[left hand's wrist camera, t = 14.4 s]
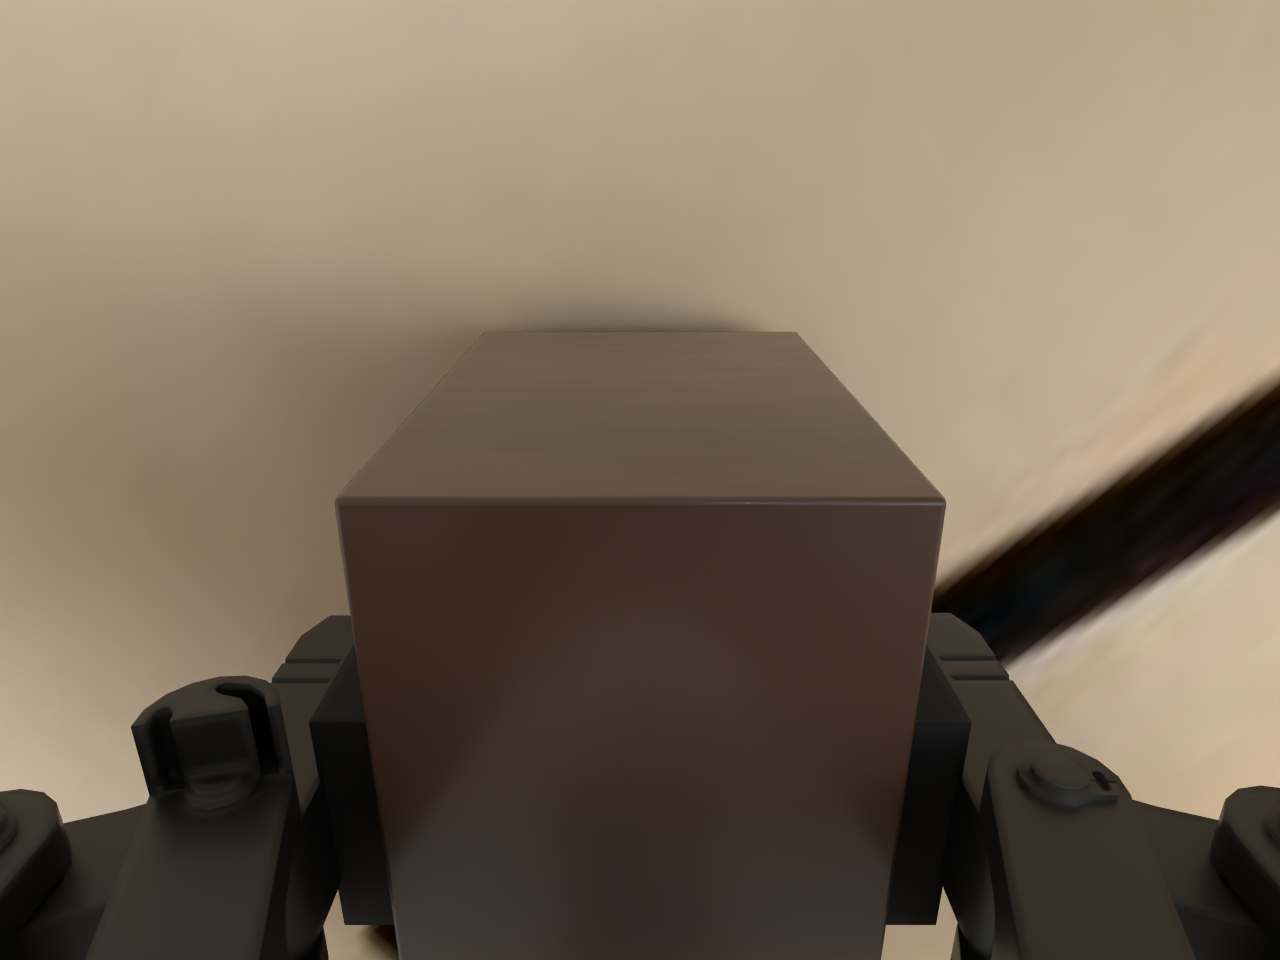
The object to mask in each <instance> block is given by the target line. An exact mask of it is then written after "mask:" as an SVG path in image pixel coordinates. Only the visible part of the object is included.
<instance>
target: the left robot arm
mask: <svg viewBox="0 0 1280 960" xmlns="http://www.w3.org/2000/svg"><path fill="white" fill-rule="evenodd" d="M995 657H996V656H995V655H994V653H993V652H992V650H991V649H990V648H989V646H988V645H987V643H986V642H985V640H984V639H983V638H982V636H981V635H980V633H979V632H977V631H976V630H974V629H973V628H971V627H970V626H968V625H967V624H966V623H964V622H963V621H961V620H960V619H958V618H957V617H955V616H954V615H953V614H951V613H930V620H929V627H928V634H927V641H926V648H925V655H924V662H923V669H922V676H921V683H920V690H919V697H918V704H917V711H916V718H915V725H914V732H913V739H912V746H911V753H910V760H909V767H908V774H907V781H906V788H905V795H904V802H903V808H902V815H901V822H900V829H899V836H898V843H897V850H896V857H895V864H894V871H893V878H892V885H891V892H890V899H889V906H888V913H887V920H886V925H936V921H937V915H938V910H939V904H940V898H941V893H942V887H944V890H945V892H946V895H947V897H948V900H949V902H950V905H951V907H952V909H953V912H954V914H955V917H956V919H957V922H958V923H957V928H956V933H955V939H954V944H953V949H952V954H951V960H1280V788H1275V787H1267V786H1255V787H1248V788H1241V789H1238V790H1236V791H1235V792H1234V793H1233V794H1231V795H1230V796H1229V797H1228V798H1226V799H1225V802H1224V805H1223V808H1222V812H1221V815H1220V818H1219V820H1215V819H1210V818H1206V817H1201V816H1197V815H1192V814H1188V813H1183V812H1179V811H1174V810H1170V809H1165V808H1161V807H1156V806H1153V805H1149V804H1146V803H1142V802H1139V801H1135V800H1132V797H1131V795H1130V793H1129V792H1128V790H1127V789H1126V787H1125V786H1124V784H1123V783H1122V781H1121V780H1120V779H1119V777H1118V776H1117V775H1116V774H1114V773H1113V772H1112V771H1111V770H1109V769H1108V768H1107V767H1106V766H1104V765H1103V764H1102V763H1101V762H1099V761H1098V760H1096V759H1094V758H1092V757H1090V756H1088V755H1086V754H1084V753H1082V752H1080V751H1078V750H1076V749H1074V748H1071V747H1067V746H1064V745H1060V744H1057V743H1056V742H1055V741H1054V739H1053V738H1052V736H1051V735H1050V733H1049V732H1048V731H1047V729H1046V728H1045V726H1044V725H1043V723H1042V722H1041V721H1040V719H1039V718H1038V716H1037V715H1036V713H1035V712H1034V711H1033V709H1032V708H1031V706H1030V705H1029V703H1028V702H1027V701H1026V699H1025V698H1024V696H1023V695H1022V693H1021V692H1020V691H1019V689H1018V688H1017V686H1016V685H1015V683H1014V682H1013V680H1009V675H1008V673H1007V672H1006V670H1005V669H1004V668H1003V666H1002V665H1001V663H1000V662H999V661H996V659H995ZM131 729H132V733H133V737H134V740H135V744H136V748H137V751H138V755H139V758H140V762H141V766H142V769H143V773H144V777H145V780H146V784H147V788H148V791H149V795H150V796H149V799H148V801H147V804H144V805H140V806H137V807H133V808H130V809H126V810H122V811H117V812H113V813H108V814H104V815H99V816H95V817H90V818H86V819H81V820H77V821H72V822H68V823H63V821H62V818H61V815H60V812H59V809H58V806H57V803H56V802H55V801H54V800H52V799H51V798H50V797H49V796H47V795H46V794H45V793H44V792H38V791H31V790H24V789H18V790H10V791H3V792H0V960H328V959H329V958H328V951H327V945H326V939H325V933H324V928H323V925H324V922H325V920H326V917H327V915H328V913H329V910H330V908H331V905H332V903H333V900H334V898H335V895H336V893H337V890H339V895H340V901H341V906H342V912H343V918H344V923H345V925H394V917H393V910H392V903H391V896H390V889H389V882H388V875H387V868H386V861H385V854H384V847H383V840H382V833H381V826H380V819H379V812H378V805H377V798H376V791H375V784H374V777H373V770H372V763H371V756H370V749H369V742H368V735H367V728H366V721H365V713H364V706H363V699H362V692H361V685H360V678H359V671H358V664H357V657H356V650H355V643H354V636H353V629H352V622H351V616H329V617H328V618H326V619H325V620H323V621H322V622H321V623H319V624H318V625H316V626H315V627H313V628H312V629H311V630H309V631H308V632H306V633H305V634H303V635H302V636H301V637H300V639H299V640H298V642H297V643H296V645H295V646H294V648H293V649H292V650H291V652H290V653H289V655H288V656H287V658H286V662H285V664H282V665H281V666H280V668H279V669H278V671H277V672H276V673H275V675H274V676H273V678H272V683H268V682H267V681H266V680H261V679H257V678H253V677H249V676H225V677H217V678H213V679H208V680H204V681H200V682H195V683H192V684H189V685H187V686H185V687H182V688H180V689H178V690H176V691H173V692H171V693H169V694H166V695H165V696H163V697H162V698H160V699H159V700H157V701H156V702H155V703H153V704H152V705H150V706H149V707H147V708H146V709H145V710H144V711H143V712H142V713H141V714H140V716H139V717H138V718H137V720H136V721H135V722H134V723H133V725H132V726H131Z"/></svg>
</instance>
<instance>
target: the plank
mask: <svg viewBox="0 0 1280 960" xmlns="http://www.w3.org/2000/svg"><path fill="white" fill-rule="evenodd" d="M945 508H946V501H945V498H944V497H943V496H942V495H941V493H940V492H939V491H938V490H937V489H936V488H935V487H934V486H933V484H932V483H931V482H930V481H929V480H928V479H927V478H926V477H925V476H924V474H923V473H922V472H921V471H920V470H919V469H918V468H917V467H916V465H915V464H914V463H913V462H912V461H911V460H910V459H909V458H908V457H907V455H906V454H905V453H904V452H903V451H902V450H901V449H900V448H899V447H898V445H897V444H896V443H895V442H894V441H893V440H892V439H891V438H890V436H889V435H888V434H887V433H886V432H885V431H884V430H883V429H882V428H881V426H880V425H879V424H878V423H877V422H876V421H875V420H874V419H873V417H872V416H871V415H870V414H869V413H868V412H867V411H866V410H865V409H864V407H863V406H862V405H861V404H860V403H859V402H858V401H857V400H856V398H855V397H854V396H853V395H852V394H851V393H850V392H849V391H848V390H847V388H846V387H845V386H844V385H843V384H842V383H841V382H840V381H839V379H838V378H837V377H836V376H835V375H834V374H833V373H832V372H831V371H830V369H829V368H828V367H827V366H826V365H825V364H824V363H823V362H822V360H821V359H820V358H819V357H818V356H817V355H816V354H815V353H814V352H813V350H812V349H811V348H810V347H809V346H808V345H807V344H806V343H805V341H804V340H803V339H802V338H801V337H800V336H799V335H798V334H797V333H795V332H485V333H483V334H482V336H481V337H480V338H479V339H478V340H477V341H476V342H475V343H474V344H473V346H472V347H471V348H470V349H469V350H468V351H467V352H466V353H465V354H464V356H463V357H462V358H461V359H460V360H459V361H458V362H457V363H456V365H455V366H454V367H453V368H452V369H451V370H450V371H449V372H448V373H447V375H446V376H445V377H444V378H443V379H442V380H441V381H440V382H439V384H438V385H437V386H436V387H435V388H434V389H433V390H432V391H431V392H430V394H429V395H428V396H427V397H426V398H425V399H424V400H423V401H422V402H421V404H420V405H419V406H418V407H417V408H416V409H415V410H414V411H413V413H412V414H411V415H410V416H409V417H408V418H407V419H406V420H405V421H404V423H403V424H402V425H401V426H400V427H399V428H398V429H397V430H396V432H395V433H394V434H393V435H392V436H391V437H390V438H389V439H388V440H387V442H386V443H385V444H384V445H383V446H382V447H381V448H380V449H379V451H378V452H377V453H376V454H375V455H374V456H373V457H372V458H371V459H370V461H369V462H368V463H367V464H366V465H365V466H364V467H363V468H362V469H361V471H360V472H359V473H358V474H357V475H356V476H355V477H354V478H353V480H352V481H351V482H350V483H349V484H348V485H347V486H346V487H345V488H344V490H343V491H342V492H341V493H340V494H339V495H338V496H337V497H336V500H335V509H336V517H337V524H338V531H339V538H340V545H341V552H342V559H343V566H344V573H345V580H346V587H347V594H348V601H349V608H350V615H351V622H352V629H353V636H354V643H355V650H356V657H357V664H358V671H359V678H360V685H361V692H362V699H363V706H364V713H365V721H366V728H367V735H368V742H369V749H370V756H371V763H372V770H373V777H374V784H375V791H376V798H377V805H378V812H379V819H380V826H381V833H382V840H383V847H384V854H385V861H386V868H387V875H388V882H389V889H390V896H391V903H392V910H393V917H394V925H395V932H396V939H397V946H398V953H399V960H881V955H882V948H883V941H884V934H885V927H886V920H887V913H888V906H889V899H890V892H891V885H892V878H893V871H894V864H895V857H896V850H897V843H898V836H899V829H900V822H901V815H902V808H903V802H904V795H905V788H906V781H907V774H908V767H909V760H910V753H911V746H912V739H913V732H914V725H915V718H916V711H917V704H918V697H919V690H920V683H921V676H922V669H923V662H924V655H925V648H926V641H927V634H928V627H929V620H930V613H931V606H932V599H933V592H934V585H935V578H936V571H937V564H938V557H939V550H940V543H941V536H942V529H943V522H944V515H945Z"/></svg>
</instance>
